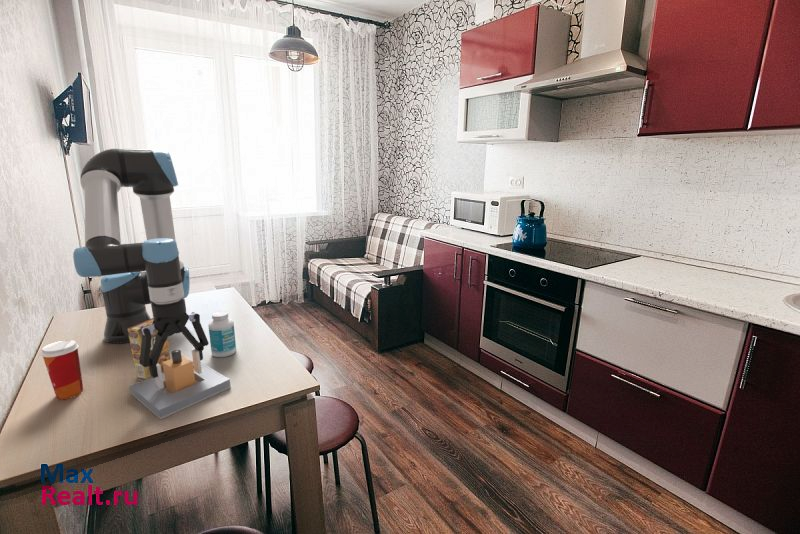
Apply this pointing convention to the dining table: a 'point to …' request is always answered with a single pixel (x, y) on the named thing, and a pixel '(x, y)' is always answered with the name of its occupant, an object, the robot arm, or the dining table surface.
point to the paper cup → (63, 368)
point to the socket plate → (179, 392)
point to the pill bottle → (222, 335)
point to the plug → (178, 372)
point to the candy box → (136, 342)
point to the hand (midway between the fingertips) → (179, 379)
